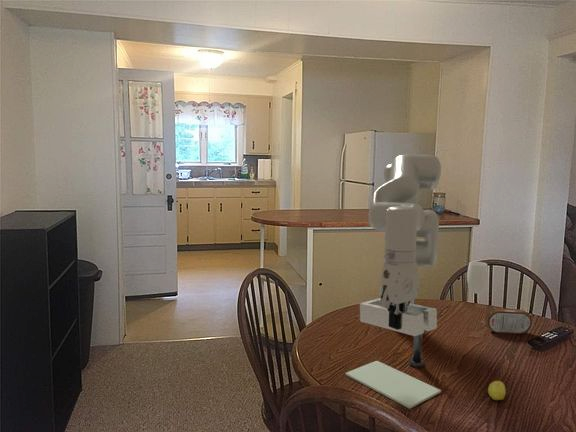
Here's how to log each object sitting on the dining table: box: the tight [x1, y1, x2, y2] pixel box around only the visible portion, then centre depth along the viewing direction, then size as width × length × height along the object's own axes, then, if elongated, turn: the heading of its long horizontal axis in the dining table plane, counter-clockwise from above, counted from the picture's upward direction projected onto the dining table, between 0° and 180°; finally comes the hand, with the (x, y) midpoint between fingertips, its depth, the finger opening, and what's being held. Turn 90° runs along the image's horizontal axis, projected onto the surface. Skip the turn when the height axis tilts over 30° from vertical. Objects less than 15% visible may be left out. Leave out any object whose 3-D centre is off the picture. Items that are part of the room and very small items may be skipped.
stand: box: [408, 334, 426, 369], centre depth 137 cm, size 4×4×18 cm
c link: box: [359, 297, 438, 337], centre depth 123 cm, size 18×9×5 cm, turn 38°
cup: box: [466, 261, 489, 295], centre depth 178 cm, size 7×7×21 cm
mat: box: [345, 360, 442, 410], centre depth 127 cm, size 22×13×1 cm, turn 38°
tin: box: [484, 307, 533, 335], centre depth 163 cm, size 15×3×8 cm, turn 84°
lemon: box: [487, 380, 507, 401], centre depth 120 cm, size 4×8×4 cm, turn 148°
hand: (396, 326), depth 119 cm, fingers closed on c link, 1 cm apart
